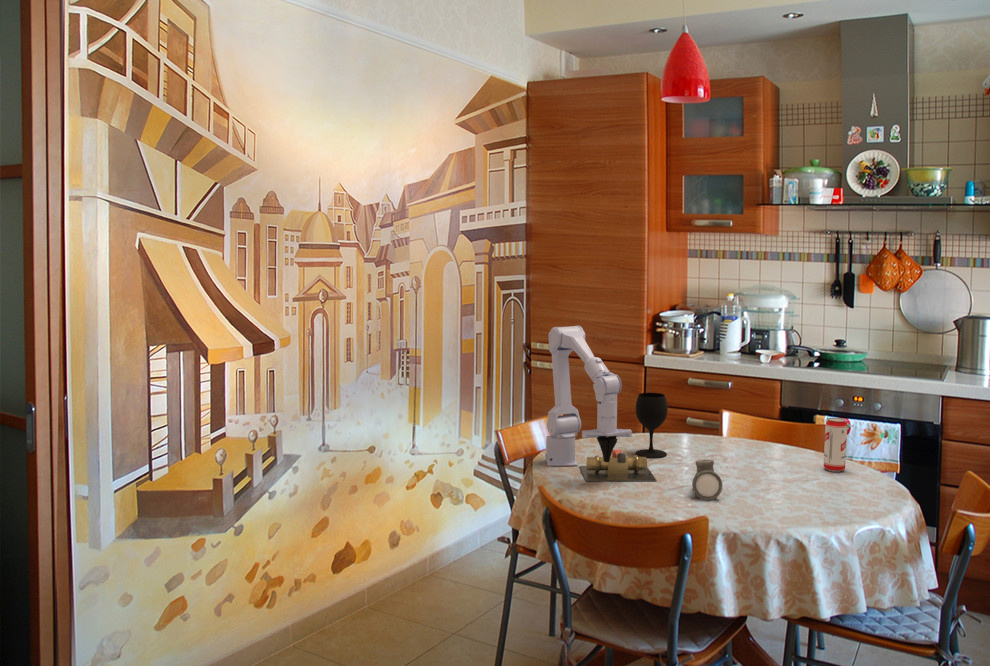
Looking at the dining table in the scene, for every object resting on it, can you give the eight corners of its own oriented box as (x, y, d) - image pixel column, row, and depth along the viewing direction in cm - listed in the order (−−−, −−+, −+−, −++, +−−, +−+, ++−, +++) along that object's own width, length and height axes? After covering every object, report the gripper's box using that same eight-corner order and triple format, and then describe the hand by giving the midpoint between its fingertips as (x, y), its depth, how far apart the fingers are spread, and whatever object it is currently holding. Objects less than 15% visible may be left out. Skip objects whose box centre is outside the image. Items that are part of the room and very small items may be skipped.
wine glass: (648, 459, 276) (648, 399, 274) (628, 452, 285) (629, 393, 283) (673, 455, 281) (674, 396, 278) (653, 448, 290) (654, 390, 288)
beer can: (845, 468, 266) (848, 418, 264) (844, 473, 260) (847, 422, 258) (824, 466, 268) (826, 416, 266) (822, 471, 263) (824, 420, 261)
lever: (611, 453, 262) (611, 445, 261) (620, 453, 262) (620, 445, 261) (617, 463, 250) (617, 455, 250) (626, 463, 250) (627, 455, 250)
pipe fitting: (723, 500, 233) (721, 462, 233) (693, 500, 235) (691, 463, 235) (720, 492, 245) (718, 456, 245) (691, 492, 247) (689, 457, 247)
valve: (585, 482, 252) (586, 463, 251) (579, 467, 268) (579, 449, 267) (656, 481, 252) (656, 463, 252) (646, 466, 268) (646, 449, 267)
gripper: (585, 419, 245) (584, 465, 247) (634, 418, 246) (634, 464, 248) (580, 414, 252) (580, 459, 254) (628, 413, 253) (628, 457, 255)
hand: (606, 461), depth 251 cm, fingers closed
